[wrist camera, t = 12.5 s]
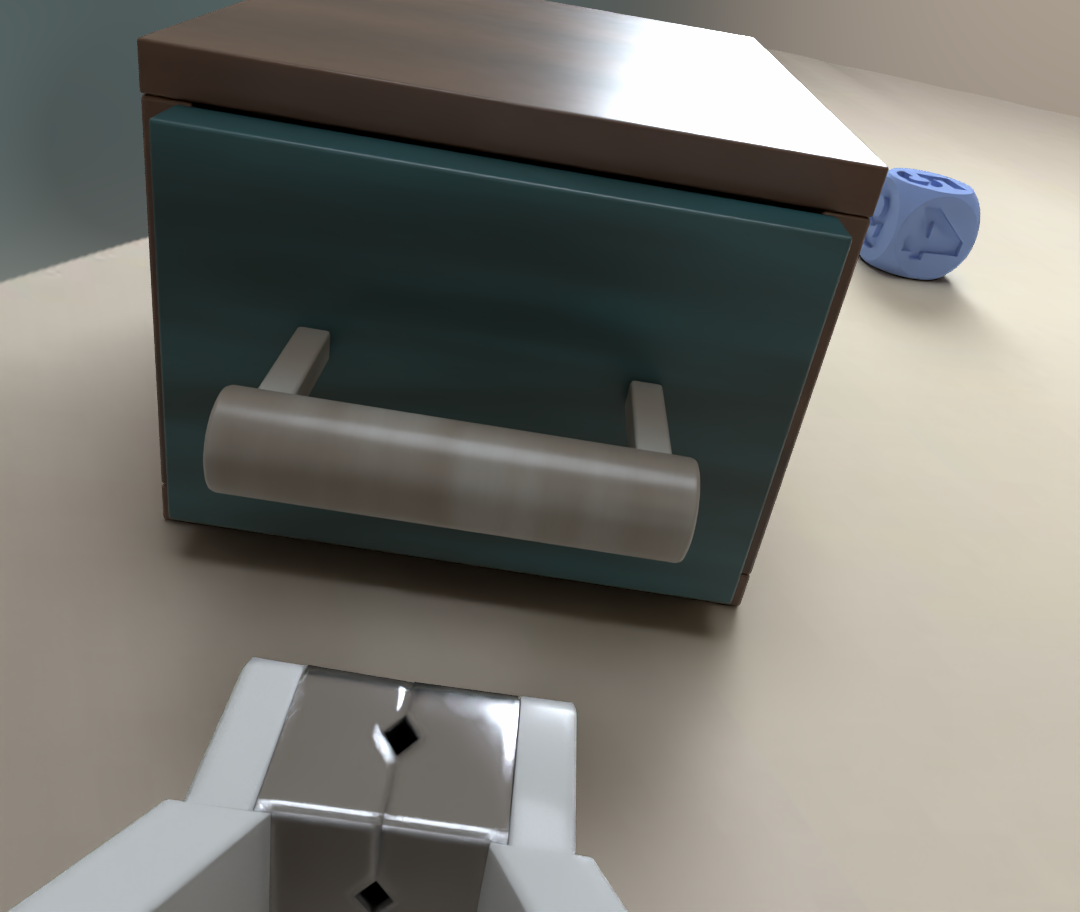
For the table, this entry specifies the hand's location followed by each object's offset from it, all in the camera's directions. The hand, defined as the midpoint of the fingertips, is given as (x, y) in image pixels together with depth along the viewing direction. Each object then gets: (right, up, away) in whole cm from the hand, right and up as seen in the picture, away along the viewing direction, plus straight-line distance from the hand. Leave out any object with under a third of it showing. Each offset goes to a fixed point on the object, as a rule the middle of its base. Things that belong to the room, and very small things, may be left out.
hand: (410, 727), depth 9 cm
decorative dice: (+18, +11, +37) cm, 43 cm away
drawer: (0, +3, +15) cm, 15 cm away
